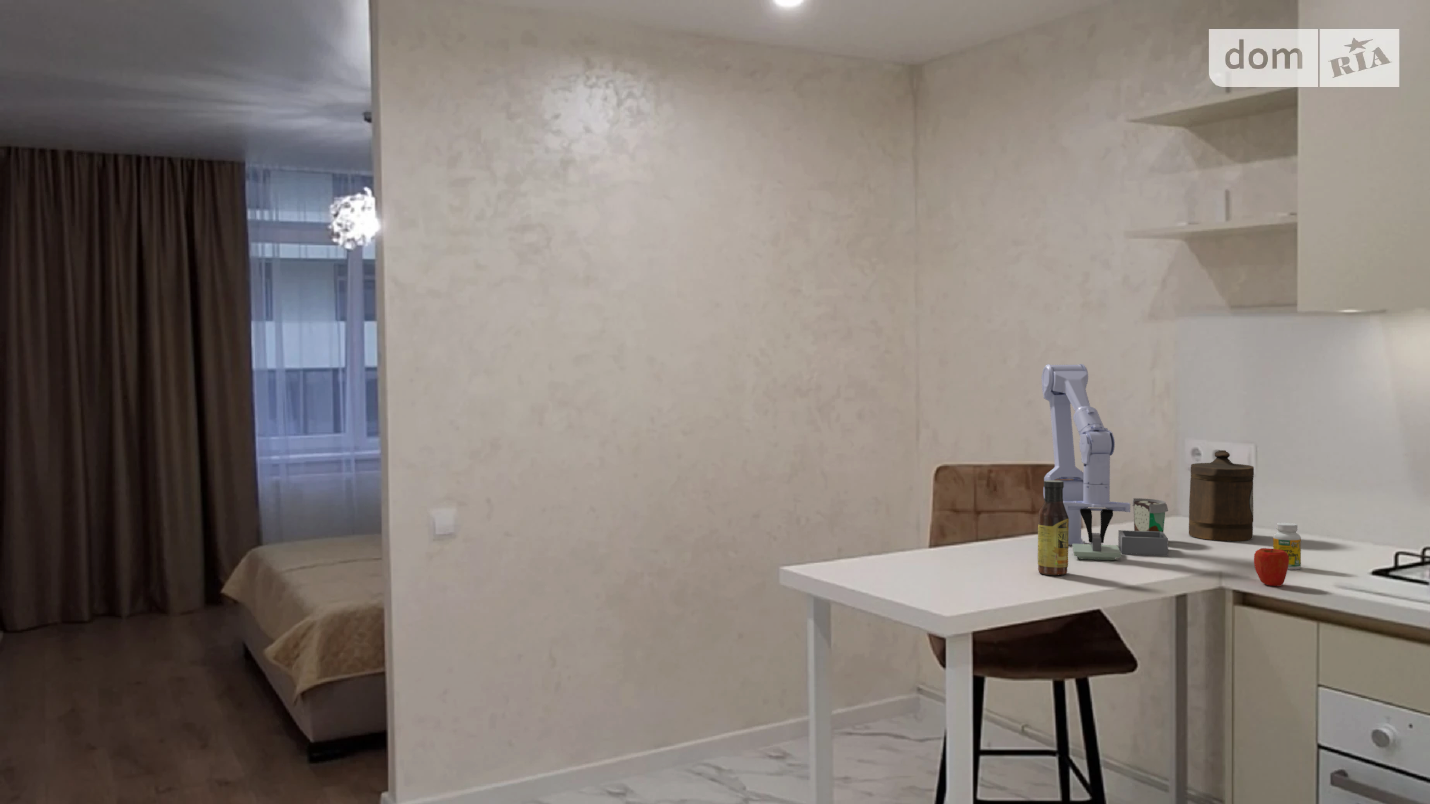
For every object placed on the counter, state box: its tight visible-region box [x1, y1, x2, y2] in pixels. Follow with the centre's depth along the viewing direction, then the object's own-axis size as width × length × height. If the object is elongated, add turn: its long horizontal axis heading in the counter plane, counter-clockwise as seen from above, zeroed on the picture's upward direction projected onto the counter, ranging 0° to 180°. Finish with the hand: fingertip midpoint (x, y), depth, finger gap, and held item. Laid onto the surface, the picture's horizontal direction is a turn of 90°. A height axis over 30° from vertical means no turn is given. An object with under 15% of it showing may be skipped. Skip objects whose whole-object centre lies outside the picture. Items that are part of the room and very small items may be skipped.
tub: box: [1117, 529, 1169, 557], centre depth 261 cm, size 10×10×4 cm
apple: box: [1253, 547, 1289, 587], centre depth 223 cm, size 6×6×8 cm
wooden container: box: [1188, 449, 1255, 542], centre depth 280 cm, size 15×15×22 cm
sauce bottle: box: [1037, 479, 1069, 576], centre depth 236 cm, size 7×6×20 cm
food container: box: [1132, 497, 1169, 533], centre depth 275 cm, size 12×6×10 cm, turn 179°
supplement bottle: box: [1272, 522, 1302, 571], centre depth 240 cm, size 5×5×10 cm
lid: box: [1071, 532, 1122, 561], centre depth 255 cm, size 10×10×5 cm
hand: (1096, 542), depth 255 cm, fingers closed on lid
